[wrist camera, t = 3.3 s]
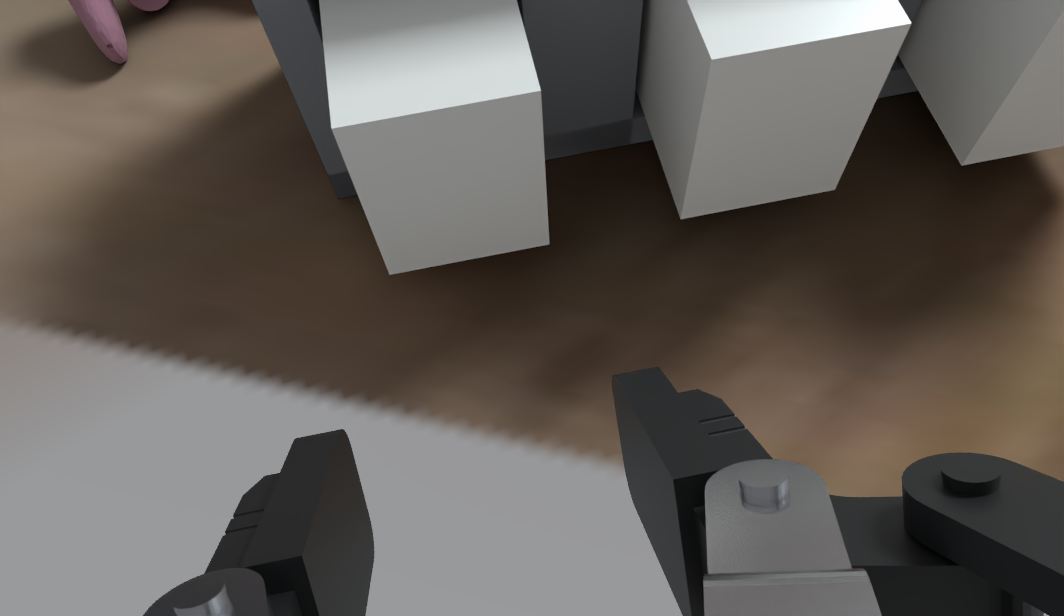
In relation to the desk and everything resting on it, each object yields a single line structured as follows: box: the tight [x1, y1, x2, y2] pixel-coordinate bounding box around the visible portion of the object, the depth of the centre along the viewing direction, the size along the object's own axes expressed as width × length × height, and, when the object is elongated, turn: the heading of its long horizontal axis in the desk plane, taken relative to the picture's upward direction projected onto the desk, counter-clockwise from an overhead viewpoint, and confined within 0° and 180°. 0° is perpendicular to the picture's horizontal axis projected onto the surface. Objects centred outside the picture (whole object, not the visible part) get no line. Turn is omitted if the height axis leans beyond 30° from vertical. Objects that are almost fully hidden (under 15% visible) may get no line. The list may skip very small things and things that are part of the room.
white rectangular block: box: [319, 0, 549, 275], centre depth 28 cm, size 9×6×8 cm, turn 11°
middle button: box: [635, 0, 912, 219], centre depth 29 cm, size 9×6×8 cm, turn 11°
